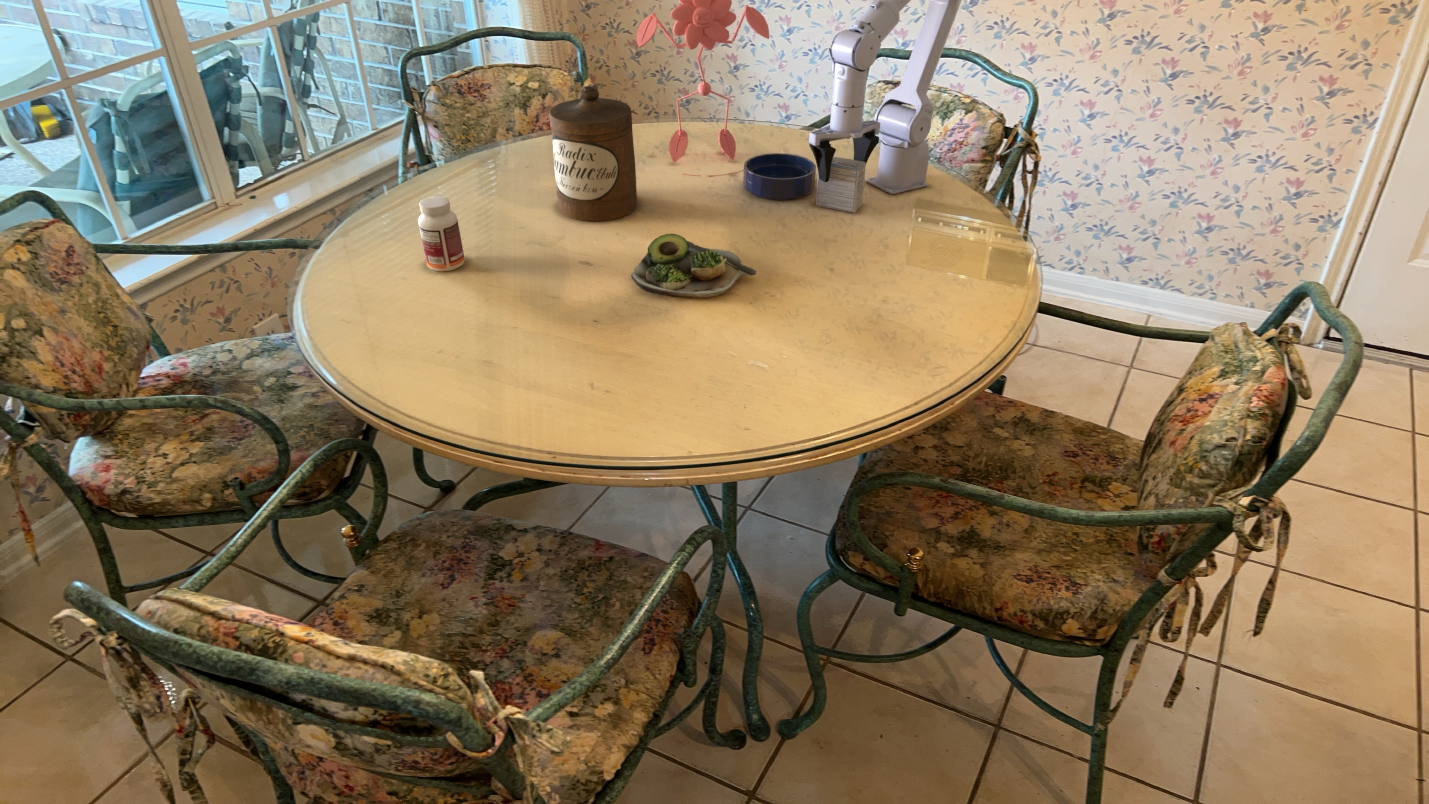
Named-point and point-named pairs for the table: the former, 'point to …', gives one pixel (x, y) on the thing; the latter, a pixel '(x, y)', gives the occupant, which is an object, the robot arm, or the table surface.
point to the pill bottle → (440, 234)
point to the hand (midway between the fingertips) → (840, 176)
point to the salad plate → (687, 269)
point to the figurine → (705, 25)
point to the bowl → (779, 176)
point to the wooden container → (594, 157)
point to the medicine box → (842, 185)
